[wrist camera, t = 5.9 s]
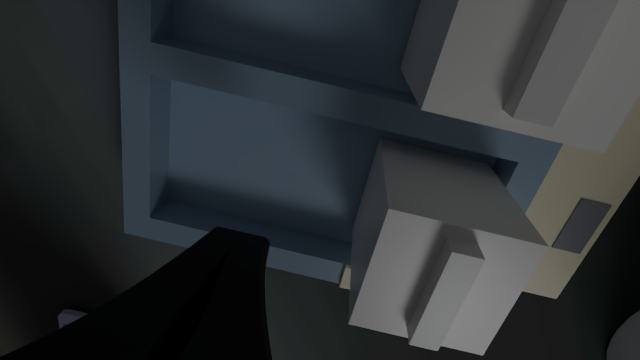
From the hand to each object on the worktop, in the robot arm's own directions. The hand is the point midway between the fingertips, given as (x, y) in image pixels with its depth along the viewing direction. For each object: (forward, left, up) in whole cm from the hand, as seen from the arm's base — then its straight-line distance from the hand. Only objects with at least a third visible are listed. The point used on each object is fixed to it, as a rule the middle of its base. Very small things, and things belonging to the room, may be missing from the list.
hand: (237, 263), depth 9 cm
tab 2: (0, -5, -6) cm, 8 cm away
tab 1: (+7, -5, -6) cm, 10 cm away
